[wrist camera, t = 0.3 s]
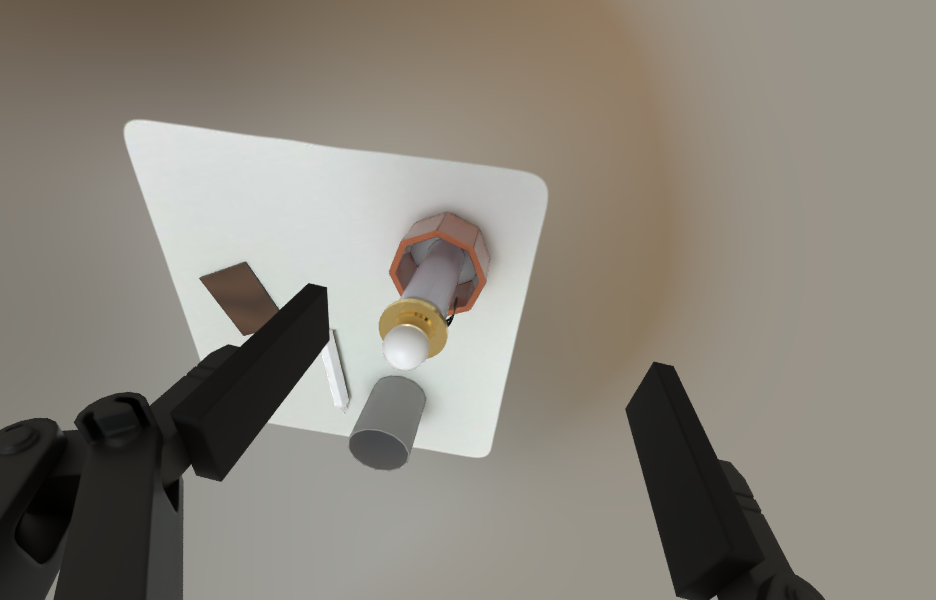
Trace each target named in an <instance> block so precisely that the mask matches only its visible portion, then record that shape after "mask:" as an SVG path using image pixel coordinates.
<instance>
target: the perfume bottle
mask: <svg viewBox="0 0 936 600" xmlns="http://www.w3.org/2000/svg"><path fill="white" fill-rule="evenodd" d="M463 264H464V253H463V251H462V249H461V248H460V247H458V246H456V245H454V244H452V243H449V242H447V241H445V240H438V241H436V242H434V243H432V244H431V246H430V247H429V248H428V250H427V252H426V254H425V256H424V257H423V259H422V261H421V263H420V264H419V266H418V268H417V270H416V271H415V273H414V275H413V277H412V278H411V280H410V282H409V284H408V285H407V287H406V289H405V291H404V292H403V294H402V296H401V298H400V299H399V300H398V301H395V302H393V303H392V304H390V305H389V306H388V307H387V308H386V309H385V310H384V312H383V314H382V316H381V317H380V321H379V332H380V335H381V337H382V340H383V345H382V351H383V355H384V358H385V360H386V361H387V363H388V364H389V365H390V366H392V367H393V368H395V369H397V370H401V371H410V370H414V369H416V368H418V367H419V366H421V365H422V364H423V363H424V362H425V360H426V359H428V358H431V357H433V356H435V355H437V354H438V353H439V352H440V351H442V349H443V348H444V346H445V344H446V341H447V338H448V327H449V325H450V324H451V322H452V320H453V317H454V314H455V310H456V307H457V302H458V301H457V300H458V299H457V296H456V299H455V302H454V305H453V307H454V313H453V316H451V317H450V318H449V319H447V320H446V317H447V314H448V311H449V308H450V305H451V302H452V299H453V295H454V292H455V289H456V286H457V283H458V280H459V277H460V274H461V271H462V267H463ZM458 297H459V296H458ZM450 320H451V321H450ZM448 321H449V322H448ZM447 322H448V323H447Z"/></svg>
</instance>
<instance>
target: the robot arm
mask: <svg viewBox="0 0 936 600" xmlns="http://www.w3.org/2000/svg"><path fill="white" fill-rule="evenodd" d="M329 340H330V335H329V317H328V298H327V287H323V286H319V285H314V284H310V283H308V284H307V285H306V286H305V287H304V288H303V289H302V290H301V291H300V292H299V293H297V294H296V295H295V296H294V297H293V298H292V299H291V300H290V301H289V302H288V303H287V304H286V305H285V306H284V307H282V308H281V309H280V310H279V311H278V312H277V313H276V314H275V315H274V316H273V317H272V318H271V319H270V320H268V321H267V322H266V323H265V324H264V325H263V326H262V327H261V328H260V329H259V330H258V331H257V332H256V333H255V334H253V335H252V336H251V337H250V338H249V339H248V340H247V341H246V342H245V343H244V344H243V345H242V346H241V347H237V346H233V345H229V344H228V345H226V346H224V347H222V348H220V349H218V350H216V351H214V352H212V353H210V354H209V355H208V356H207V357H206V358H204V359H203V360H202V361H201V362H200V363H199V364H198V366H197V367H194V368H193V369H192V370H191V371H189V372H188V373H187V375H186V376H184V377H182V378H181V379H180V380H179V381H178V382H177V383H176V384H174V385H173V386H172V387H171V388H170V389H169V390H168V391H166V392H165V393H164V394H163V395H162V396H161V397H159V398H158V399H157V400H156V401H155V402H154V403H152V404H151V405H150V406H149V404H148V402H147V400H146V398H145V397H144V396H142V395H141V394H139V393H132V392H125V393H116V394H113V395H110V396H107V397H104V398H101V399H99V400H97V401H96V402H94V403H92V404H90V405H88V406H87V407H86V408H85V409H84V410H83V411H81V412H80V413H79V414H78V416H77V418H76V420H75V421H74V423H75V425H76V426H77V428H78V430H71V431H70V430H69V431H62V430H61V429H60V427H59V426H58V425H57V423H56V422H55V421H53V420H51V419H48V418H33V419H29V420H24V421H20V422H17V423H15V424H12V425H10V426H7V427H5V428H3V429H1V430H0V600H45V598H46V596H47V594H48V592H49V590H50V588H51V586H52V584H53V582H54V580H55V578H56V575H57V573H58V572H59V570H60V573H59V577H58V582H57V586H56V591H55V595H54V600H183V478H182V474H183V473H184V472H185V471H186V469H187V468H188V467H189V466H190V465H191V464H192V467H193V469H194V471H195V474H196V475H197V476H200V477H204V478H209V479H212V480H216V481H222V480H223V479H224V478H225V476H226V475H227V474H228V472H229V471H230V470H231V469H232V467H233V466H234V465H235V463H236V462H237V461H238V460H239V458H240V457H241V456H242V454H243V453H244V452H245V450H246V449H247V448H248V446H249V445H250V444H251V443H252V441H253V440H254V438H255V437H256V436H257V435H258V433H259V432H260V431H261V429H262V428H263V427H264V425H265V424H266V423H267V422H268V420H269V419H270V418H271V416H272V415H273V414H274V412H275V411H276V410H277V409H278V407H279V406H280V405H281V403H282V402H283V401H284V399H285V398H286V397H287V395H288V394H289V393H290V391H291V390H292V389H293V388H294V386H295V385H296V384H297V382H298V381H299V380H300V378H301V377H302V376H303V374H304V373H305V372H306V371H307V369H308V368H309V367H310V365H311V364H312V363H313V361H314V360H315V359H316V357H317V356H318V355H319V354H320V352H321V351H322V350H323V348H324V347H325V346H326V344H327V343H328V342H329ZM625 410H626V414H627V417H628V421H629V425H630V428H631V432H632V436H633V439H634V443H635V446H636V450H637V454H638V458H639V461H640V465H641V468H642V472H643V476H644V480H645V483H646V487H647V490H648V494H649V498H650V501H651V505H652V509H653V512H654V516H655V519H656V523H657V527H658V531H659V535H660V538H661V542H662V546H663V549H664V553H665V557H666V560H667V564H668V567H669V571H670V575H671V578H672V582H673V585H674V589H675V593H676V596H677V597H680V598H685V599H688V600H710V599H711V598H713V597H714V596H716V595H717V597H718V600H825V599H824V598H823V596H822V595H821V594H820V593H819V592H818V591H817V590H816V589H815V588H814V587H813V586H812V585H811V584H810V583H808V582H807V581H805V580H804V579H802V578H800V577H799V576H797V575H795V574H794V572H793V571H792V569H791V567H790V565H789V563H788V561H787V559H786V557H785V555H784V553H783V552H782V550H781V548H780V546H779V544H778V542H777V540H776V538H775V536H774V534H773V532H772V531H771V528H770V527H769V525H768V523H767V521H766V519H765V517H764V515H763V514H761V509H760V507H759V505H758V504H757V502H756V500H754V499H753V497H754V496H753V494H752V492H751V490H750V488H749V486H748V484H747V482H746V480H745V479H744V477H743V476H742V475H741V474H740V473H739V472H738V471H737V469H736V468H735V467H734V466H733V465H732V464H731V462H728V461H723V460H719V459H717V456H716V454H715V452H714V450H713V448H712V446H711V444H710V442H709V440H708V438H707V435H706V433H705V431H704V429H703V427H702V425H701V423H700V421H699V419H698V417H697V414H696V412H695V410H694V408H693V406H692V404H691V402H690V400H689V398H688V395H687V393H686V391H685V389H684V387H683V385H682V383H681V381H680V379H679V377H678V374H677V372H676V370H675V368H674V366H671V365H666V364H662V363H657V362H653V364H652V365H651V367H650V369H649V370H648V372H647V374H646V375H645V377H644V379H643V380H642V382H641V384H640V385H639V387H638V389H637V390H636V392H635V394H634V395H633V397H632V399H631V400H630V402H629V404H628V405H627V407H626V409H625Z"/></svg>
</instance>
